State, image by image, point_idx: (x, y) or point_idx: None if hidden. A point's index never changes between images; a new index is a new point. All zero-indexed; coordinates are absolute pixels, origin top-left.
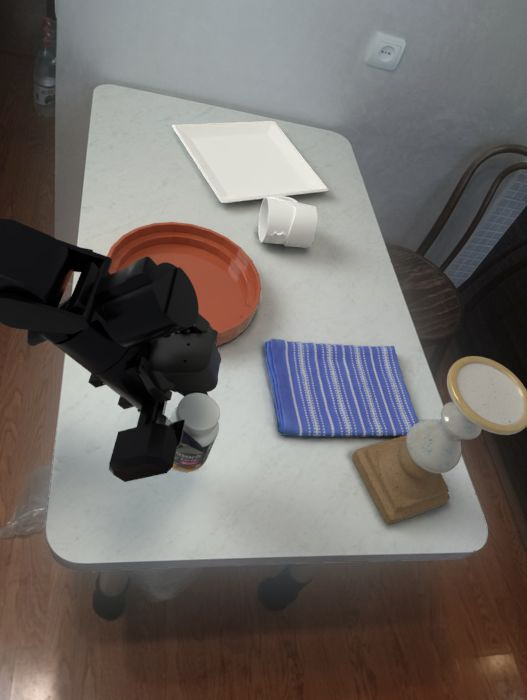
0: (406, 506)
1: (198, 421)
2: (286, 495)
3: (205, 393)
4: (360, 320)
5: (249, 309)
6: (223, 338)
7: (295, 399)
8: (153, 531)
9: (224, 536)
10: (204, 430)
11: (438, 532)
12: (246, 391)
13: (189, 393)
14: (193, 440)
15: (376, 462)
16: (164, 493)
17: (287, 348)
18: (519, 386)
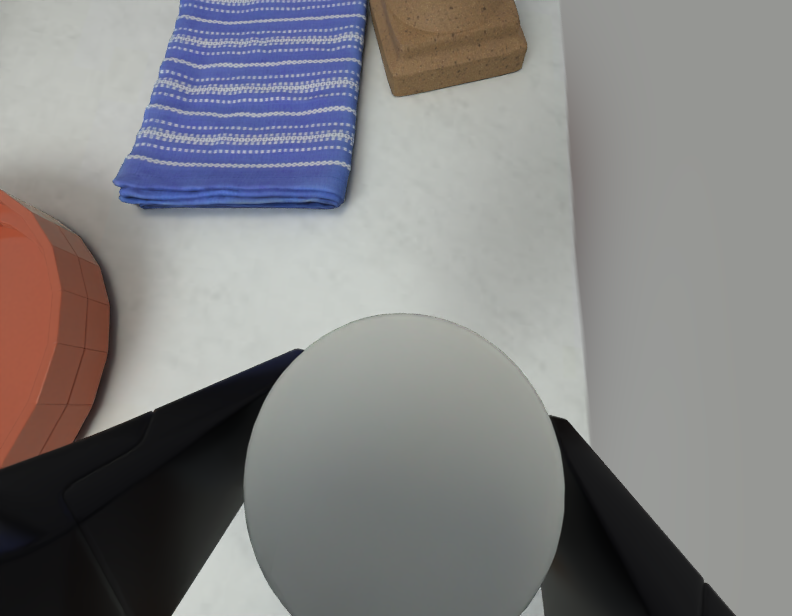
0: (516, 8)
1: (496, 485)
2: (465, 216)
3: (251, 383)
4: (119, 33)
5: (24, 219)
6: (87, 287)
7: (270, 163)
8: None
9: (547, 342)
10: (556, 440)
11: (533, 3)
12: (235, 258)
13: (235, 480)
14: (621, 526)
15: (429, 36)
16: None
17: (147, 157)
18: None
